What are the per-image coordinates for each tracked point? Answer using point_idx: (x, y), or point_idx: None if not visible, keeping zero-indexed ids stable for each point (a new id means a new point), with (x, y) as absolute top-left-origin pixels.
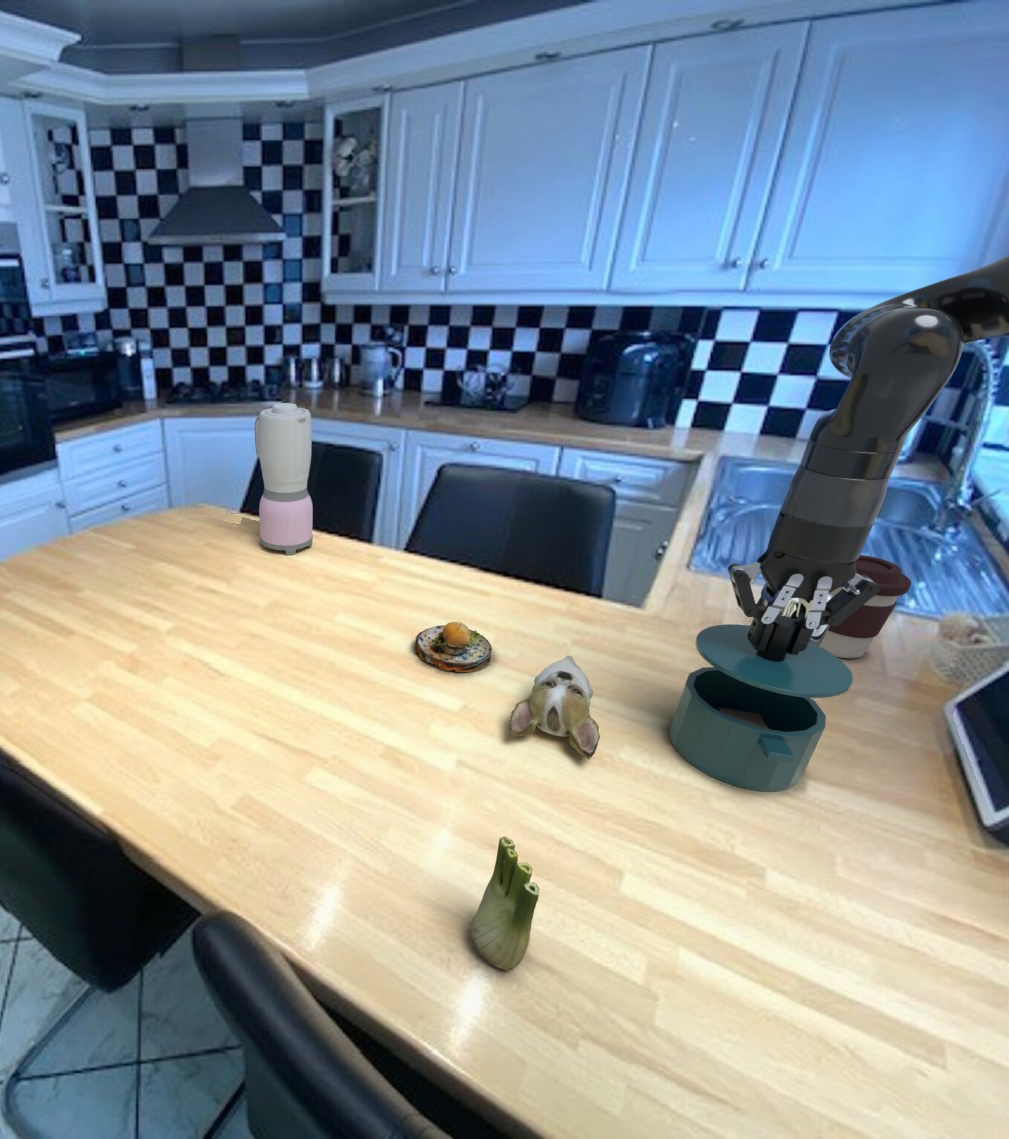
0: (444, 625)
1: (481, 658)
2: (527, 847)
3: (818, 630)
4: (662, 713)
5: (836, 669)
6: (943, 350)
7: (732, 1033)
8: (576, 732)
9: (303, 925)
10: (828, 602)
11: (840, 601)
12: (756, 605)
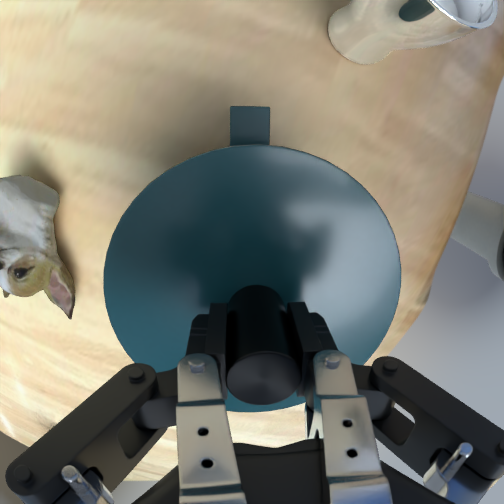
0: None
1: None
2: (60, 390)
3: (443, 42)
4: (170, 154)
5: (369, 324)
6: None
7: (175, 461)
8: (49, 289)
9: (5, 428)
10: (400, 401)
11: (409, 439)
12: (166, 412)
